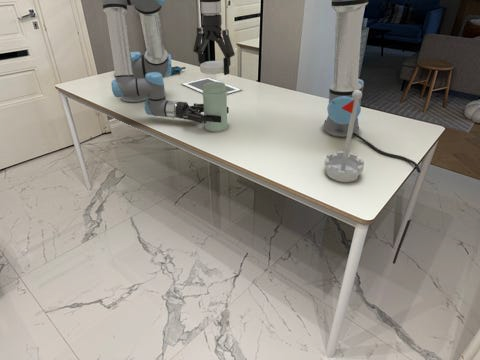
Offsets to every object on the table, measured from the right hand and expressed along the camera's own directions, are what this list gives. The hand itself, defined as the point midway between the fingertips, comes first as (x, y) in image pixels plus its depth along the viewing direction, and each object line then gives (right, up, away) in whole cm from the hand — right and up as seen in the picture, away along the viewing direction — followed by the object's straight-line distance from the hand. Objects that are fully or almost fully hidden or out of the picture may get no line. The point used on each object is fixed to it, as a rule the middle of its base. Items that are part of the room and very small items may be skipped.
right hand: (214, 72), depth 140 cm
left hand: (+4, -16, +9) cm, 19 cm away
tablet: (-7, +10, +61) cm, 62 cm away
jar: (0, -20, +14) cm, 25 cm away
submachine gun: (-44, +26, +85) cm, 99 cm away
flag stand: (+47, -42, -20) cm, 66 cm away
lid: (0, +2, -2) cm, 3 cm away
